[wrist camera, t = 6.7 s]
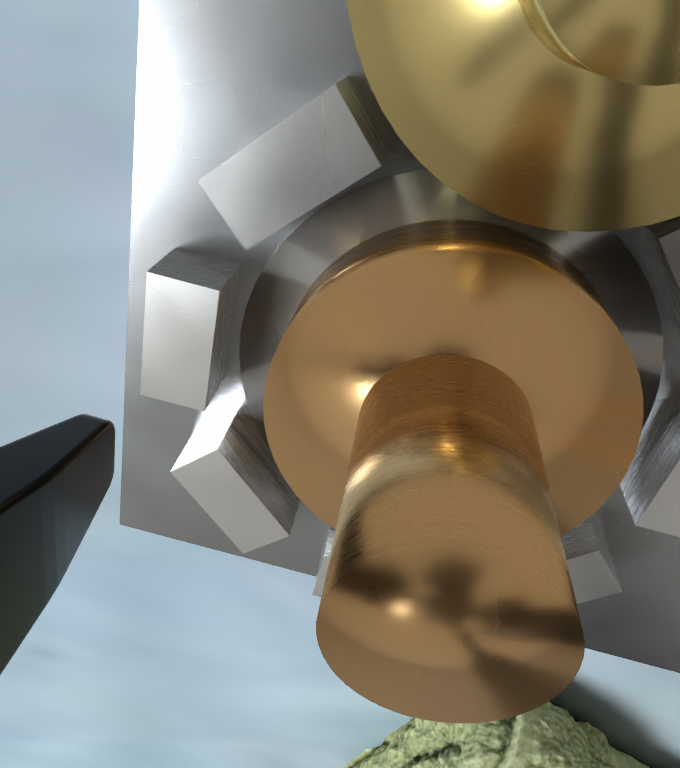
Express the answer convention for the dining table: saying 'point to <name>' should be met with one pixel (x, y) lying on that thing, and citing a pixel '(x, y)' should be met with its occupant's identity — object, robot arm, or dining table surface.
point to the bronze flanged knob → (452, 460)
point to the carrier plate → (385, 212)
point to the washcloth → (498, 744)
